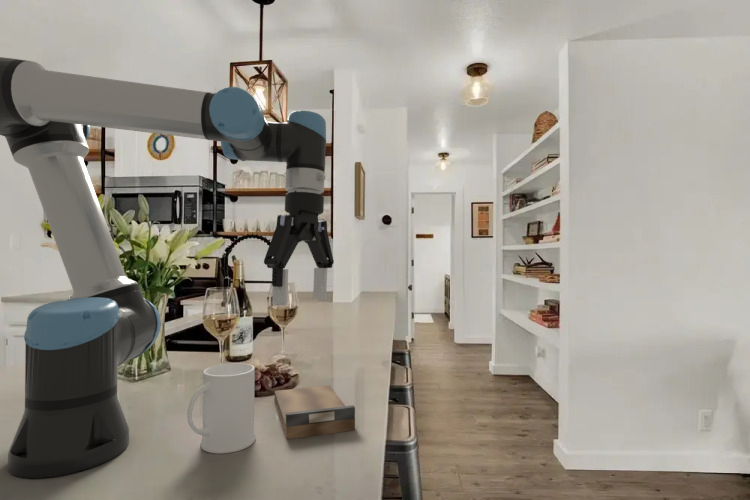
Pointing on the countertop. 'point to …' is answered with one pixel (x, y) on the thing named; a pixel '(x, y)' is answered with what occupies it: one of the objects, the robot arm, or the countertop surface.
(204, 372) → the mug
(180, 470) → the countertop surface
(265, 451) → the countertop surface
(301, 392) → the flat wooden box
